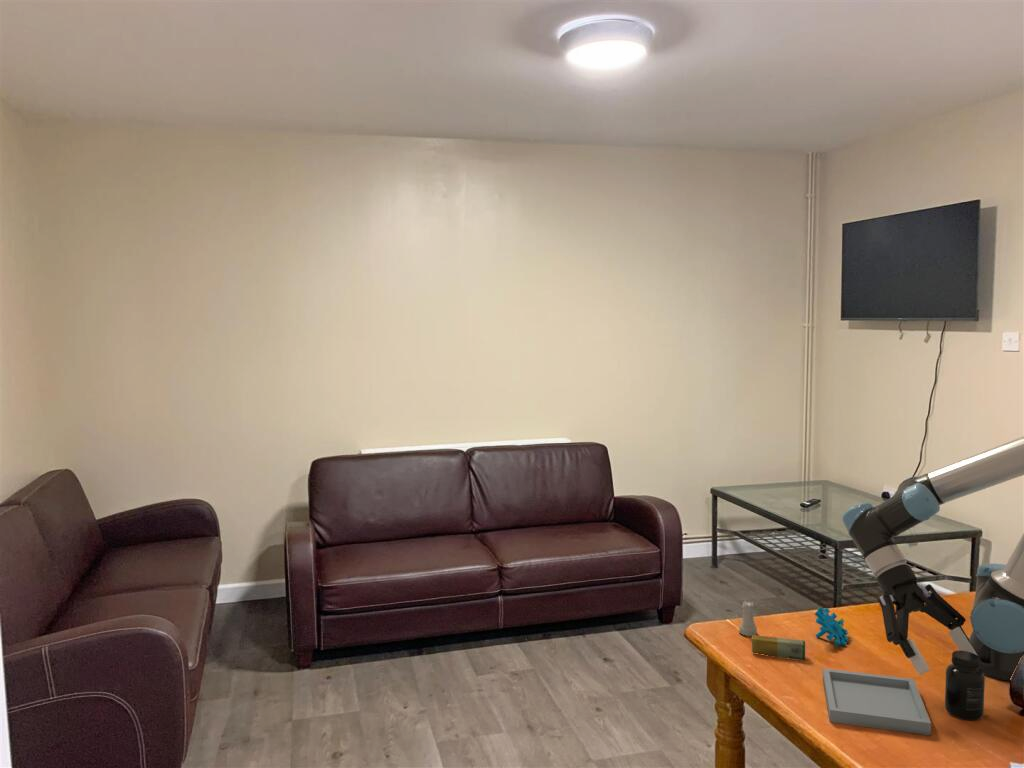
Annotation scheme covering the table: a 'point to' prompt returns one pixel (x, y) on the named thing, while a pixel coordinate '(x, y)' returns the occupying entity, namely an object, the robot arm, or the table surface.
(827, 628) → the blue bumpy irregular piece
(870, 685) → the tray
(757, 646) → the medication box
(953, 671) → the supplement bottle
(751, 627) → the rook chess piece
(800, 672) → the table surface
